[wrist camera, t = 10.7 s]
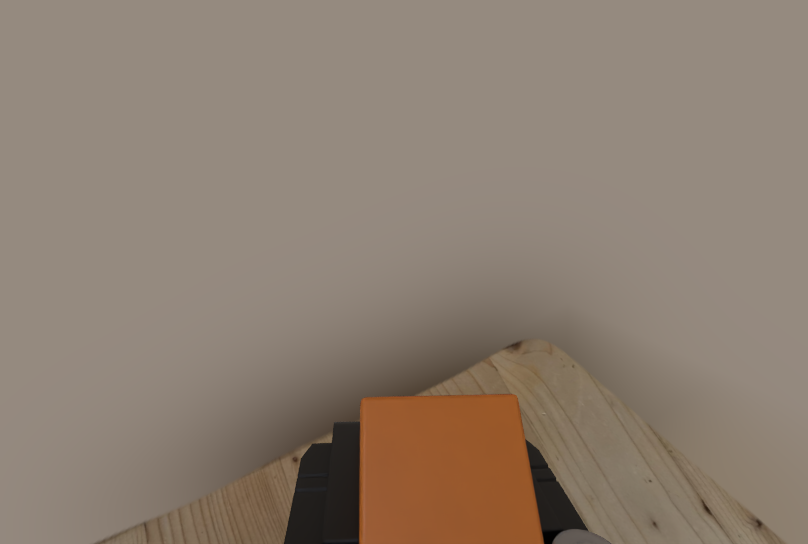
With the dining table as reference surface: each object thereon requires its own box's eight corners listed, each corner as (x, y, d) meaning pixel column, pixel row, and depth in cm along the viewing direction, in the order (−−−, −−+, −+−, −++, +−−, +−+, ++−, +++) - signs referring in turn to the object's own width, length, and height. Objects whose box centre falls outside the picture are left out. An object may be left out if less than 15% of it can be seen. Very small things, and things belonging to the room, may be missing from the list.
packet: (357, 633, 13) (356, 811, 5) (359, 457, 15) (360, 396, 8) (453, 625, 13) (590, 782, 5) (439, 454, 16) (518, 392, 8)
